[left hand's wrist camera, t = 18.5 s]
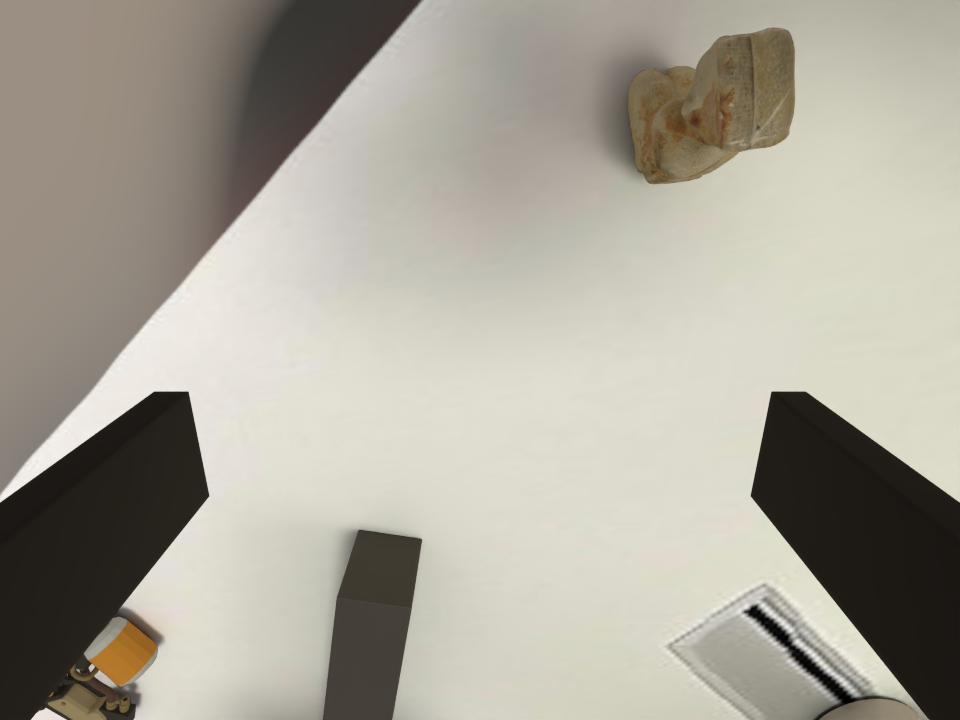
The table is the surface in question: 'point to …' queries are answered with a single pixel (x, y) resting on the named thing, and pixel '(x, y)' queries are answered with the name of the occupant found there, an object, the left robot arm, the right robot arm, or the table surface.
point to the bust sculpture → (873, 711)
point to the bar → (371, 627)
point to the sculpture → (713, 106)
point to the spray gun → (119, 659)
